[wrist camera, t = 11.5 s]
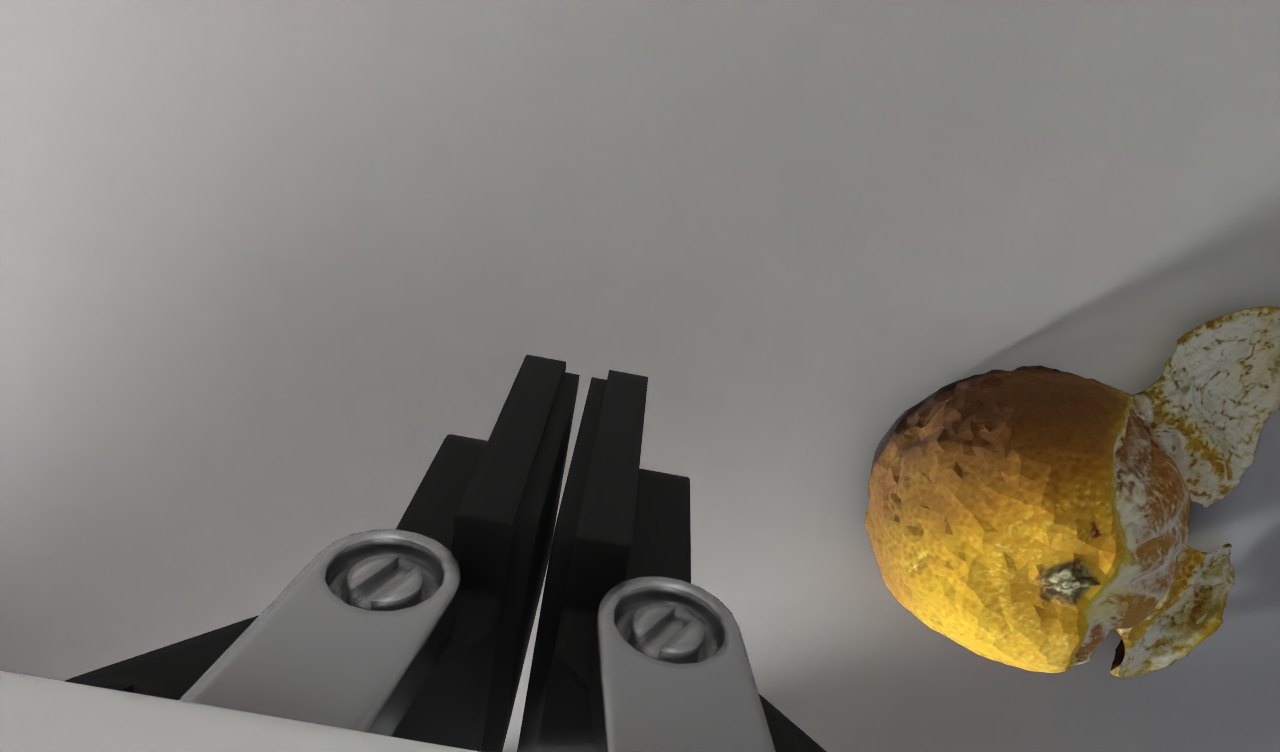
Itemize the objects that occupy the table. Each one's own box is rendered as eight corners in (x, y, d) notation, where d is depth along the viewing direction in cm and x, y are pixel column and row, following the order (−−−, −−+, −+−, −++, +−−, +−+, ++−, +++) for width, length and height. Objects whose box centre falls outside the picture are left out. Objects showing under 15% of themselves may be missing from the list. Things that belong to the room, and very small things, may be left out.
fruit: (1205, 653, 20) (1316, 785, 16) (836, 637, 20) (869, 763, 16) (1321, 302, 16) (1489, 375, 13) (882, 289, 17) (934, 355, 13)
